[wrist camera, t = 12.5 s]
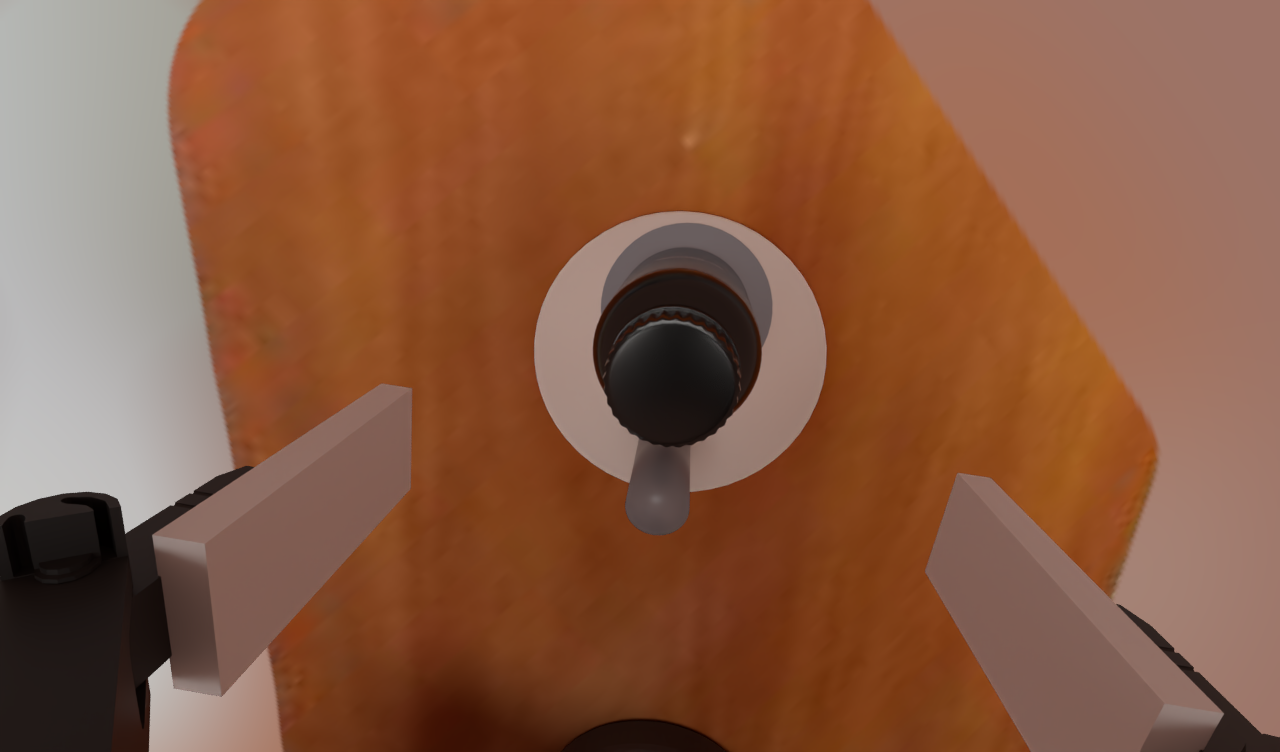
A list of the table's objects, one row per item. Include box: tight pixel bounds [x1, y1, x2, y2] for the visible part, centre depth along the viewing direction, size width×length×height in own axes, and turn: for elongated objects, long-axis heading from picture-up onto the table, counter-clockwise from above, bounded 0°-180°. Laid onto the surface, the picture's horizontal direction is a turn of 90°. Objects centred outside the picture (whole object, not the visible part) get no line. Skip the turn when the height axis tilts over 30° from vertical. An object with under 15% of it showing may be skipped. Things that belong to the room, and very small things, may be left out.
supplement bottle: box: [593, 247, 762, 448], centre depth 26 cm, size 7×7×12 cm
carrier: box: [534, 211, 827, 535], centre depth 31 cm, size 16×16×8 cm
